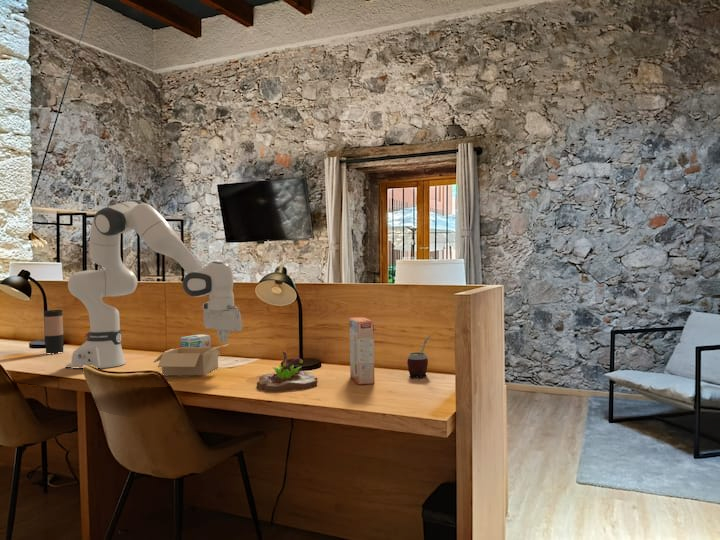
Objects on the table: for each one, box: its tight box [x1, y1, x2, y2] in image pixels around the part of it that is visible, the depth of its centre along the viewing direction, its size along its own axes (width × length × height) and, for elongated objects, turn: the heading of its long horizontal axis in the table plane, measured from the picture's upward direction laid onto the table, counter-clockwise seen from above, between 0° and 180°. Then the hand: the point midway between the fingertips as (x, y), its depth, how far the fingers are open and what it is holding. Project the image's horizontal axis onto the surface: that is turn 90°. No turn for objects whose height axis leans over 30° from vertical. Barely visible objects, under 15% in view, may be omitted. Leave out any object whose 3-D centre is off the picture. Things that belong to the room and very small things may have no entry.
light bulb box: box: [179, 333, 212, 348], centre depth 232 cm, size 11×7×11 cm, turn 143°
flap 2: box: [208, 343, 231, 352], centre depth 209 cm, size 1×7×6 cm
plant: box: [256, 350, 318, 393], centre depth 187 cm, size 20×20×11 cm
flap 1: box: [157, 352, 200, 368], centre depth 202 cm, size 14×1×6 cm
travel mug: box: [43, 309, 64, 353], centre depth 263 cm, size 8×8×20 cm
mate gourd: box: [407, 334, 434, 379], centre depth 193 cm, size 8×8×15 cm
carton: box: [153, 346, 221, 377], centre depth 214 cm, size 21×19×8 cm
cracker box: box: [349, 316, 376, 385], centre depth 190 cm, size 14×6×21 cm, turn 12°
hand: (223, 341), depth 209 cm, fingers closed
